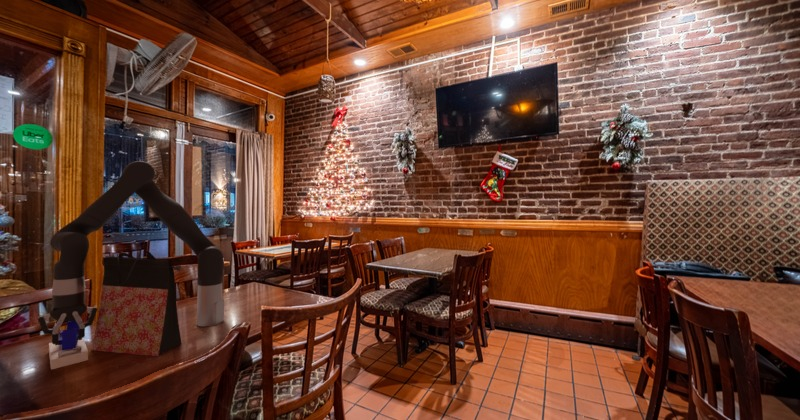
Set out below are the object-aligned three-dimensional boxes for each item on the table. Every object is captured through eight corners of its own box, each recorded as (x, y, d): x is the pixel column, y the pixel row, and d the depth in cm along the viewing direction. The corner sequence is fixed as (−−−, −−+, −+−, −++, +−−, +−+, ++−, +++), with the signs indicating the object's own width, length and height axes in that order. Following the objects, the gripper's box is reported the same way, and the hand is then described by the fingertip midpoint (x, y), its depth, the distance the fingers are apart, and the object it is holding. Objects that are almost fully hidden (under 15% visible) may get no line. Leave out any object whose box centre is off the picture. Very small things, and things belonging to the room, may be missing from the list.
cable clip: (61, 339, 106) (61, 321, 106) (79, 335, 109) (80, 318, 109) (54, 351, 97) (55, 332, 97) (75, 347, 100) (75, 329, 100)
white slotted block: (82, 344, 112) (82, 332, 112) (87, 360, 101) (88, 346, 101) (48, 351, 106) (49, 338, 106) (50, 369, 95) (51, 355, 95)
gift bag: (81, 354, 105) (83, 251, 105) (123, 336, 119) (125, 246, 119) (160, 361, 102) (162, 254, 101) (193, 342, 116) (195, 249, 116)
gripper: (97, 285, 111) (96, 332, 111) (35, 293, 100) (35, 345, 100) (100, 289, 106) (99, 338, 107) (36, 298, 95) (35, 353, 96)
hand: (68, 341), depth 104 cm, fingers closed on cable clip, 4 cm apart
